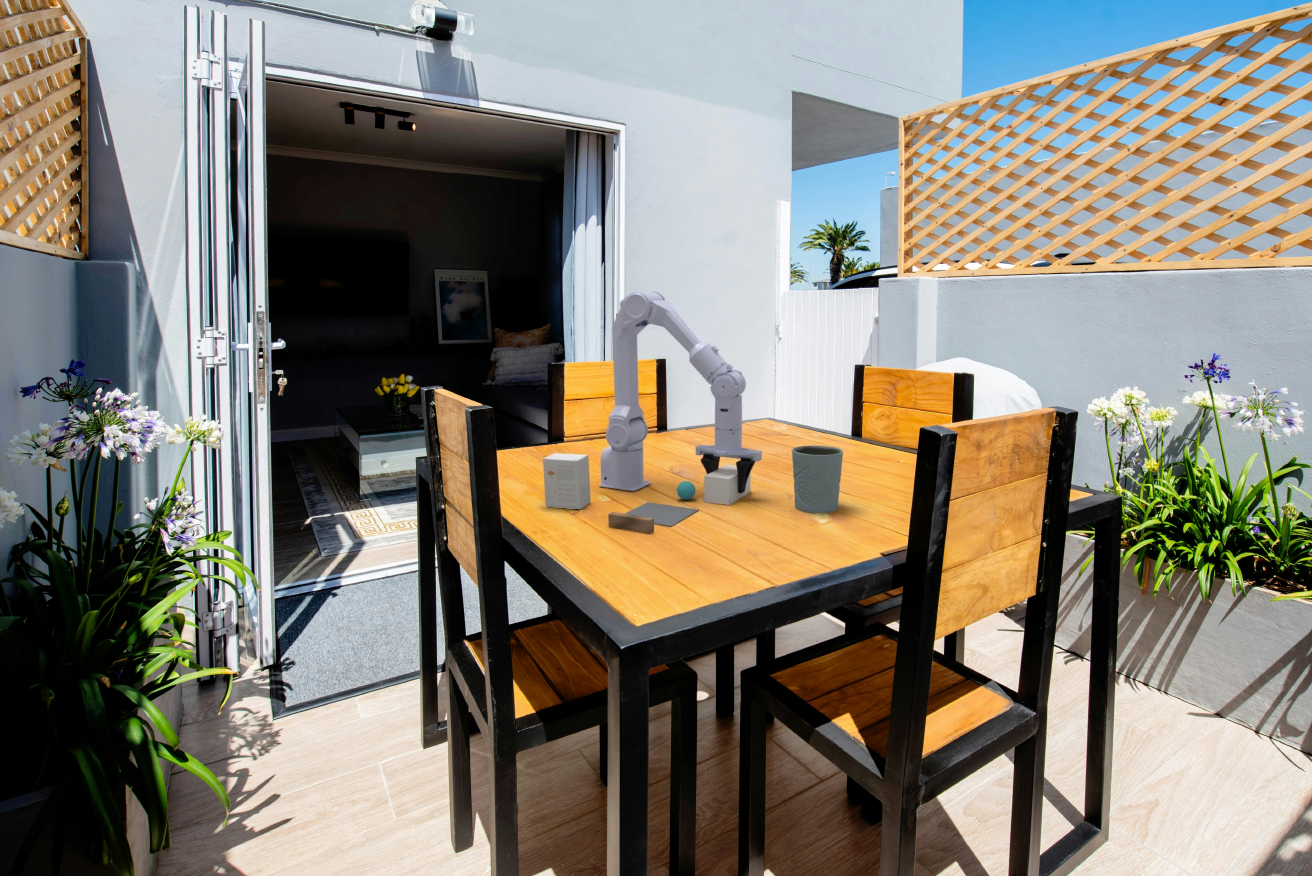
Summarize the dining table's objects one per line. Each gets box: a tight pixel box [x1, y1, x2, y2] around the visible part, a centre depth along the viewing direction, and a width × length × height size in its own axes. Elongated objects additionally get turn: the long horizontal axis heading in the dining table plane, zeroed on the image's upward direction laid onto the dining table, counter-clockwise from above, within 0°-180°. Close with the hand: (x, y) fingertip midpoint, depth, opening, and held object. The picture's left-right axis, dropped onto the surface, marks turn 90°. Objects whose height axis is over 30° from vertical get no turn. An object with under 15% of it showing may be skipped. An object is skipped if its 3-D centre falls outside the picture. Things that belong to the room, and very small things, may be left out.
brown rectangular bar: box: [607, 511, 655, 535], centre depth 132 cm, size 9×2×2 cm, turn 61°
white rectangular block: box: [703, 464, 752, 506], centre depth 153 cm, size 6×12×6 cm, turn 151°
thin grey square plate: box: [624, 501, 700, 528], centre depth 141 cm, size 12×12×1 cm
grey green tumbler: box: [791, 445, 844, 514], centre depth 144 cm, size 10×10×12 cm
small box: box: [542, 452, 592, 511], centre depth 147 cm, size 8×6×10 cm
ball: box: [676, 480, 696, 501], centre depth 151 cm, size 4×4×4 cm
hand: (727, 490), depth 153 cm, fingers closed on white rectangular block, 6 cm apart
